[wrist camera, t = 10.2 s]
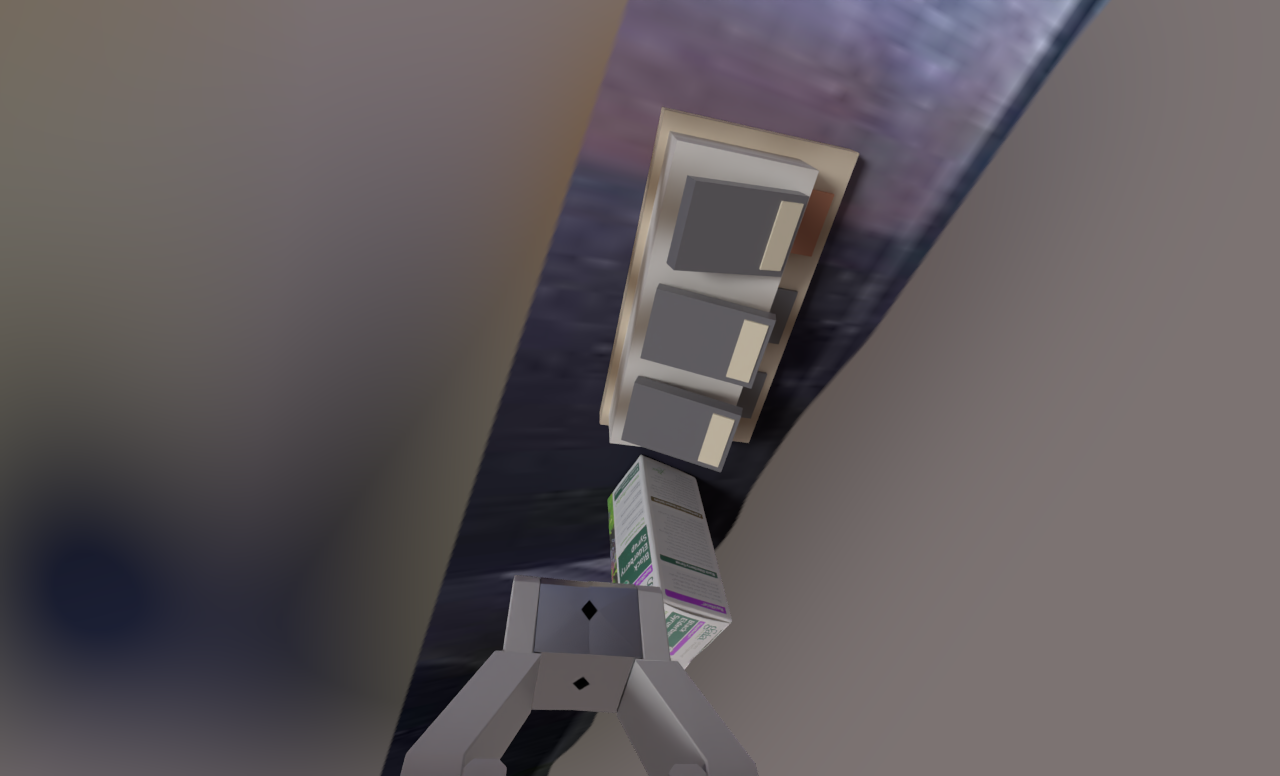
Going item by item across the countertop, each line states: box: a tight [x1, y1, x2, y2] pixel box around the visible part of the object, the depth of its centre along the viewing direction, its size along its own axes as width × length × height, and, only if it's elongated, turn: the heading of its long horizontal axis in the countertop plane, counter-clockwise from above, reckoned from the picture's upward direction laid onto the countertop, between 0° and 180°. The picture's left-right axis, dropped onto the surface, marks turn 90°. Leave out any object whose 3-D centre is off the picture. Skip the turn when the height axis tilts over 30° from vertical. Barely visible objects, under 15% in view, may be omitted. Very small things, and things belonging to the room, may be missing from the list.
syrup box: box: [608, 455, 732, 669], centre depth 42 cm, size 6×6×14 cm
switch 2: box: [621, 376, 743, 472], centre depth 37 cm, size 5×7×1 cm, turn 78°
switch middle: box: [640, 283, 776, 389], centre depth 33 cm, size 5×7×1 cm, turn 78°
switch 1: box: [666, 175, 809, 277], centre depth 30 cm, size 5×7×1 cm, turn 78°
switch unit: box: [600, 107, 859, 447], centre depth 37 cm, size 22×12×6 cm, turn 168°
